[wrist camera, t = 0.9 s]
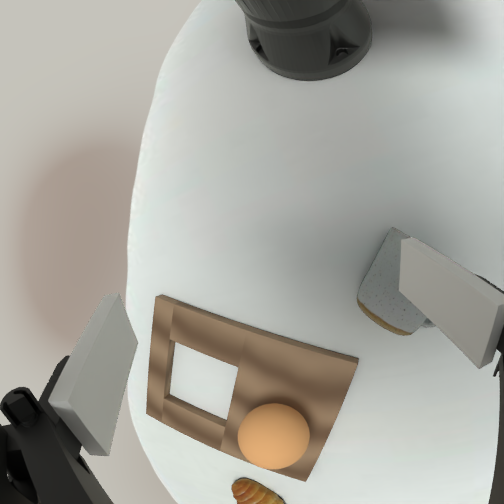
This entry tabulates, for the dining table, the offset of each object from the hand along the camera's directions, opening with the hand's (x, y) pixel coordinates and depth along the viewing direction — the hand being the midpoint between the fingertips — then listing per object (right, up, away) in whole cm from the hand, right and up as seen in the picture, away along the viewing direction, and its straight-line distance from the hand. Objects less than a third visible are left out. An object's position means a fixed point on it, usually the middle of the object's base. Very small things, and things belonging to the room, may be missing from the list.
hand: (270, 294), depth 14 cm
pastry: (+1, -37, +25) cm, 45 cm away
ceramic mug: (+16, -1, +16) cm, 23 cm away
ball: (+2, -19, +17) cm, 25 cm away
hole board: (-3, -17, +24) cm, 30 cm away
